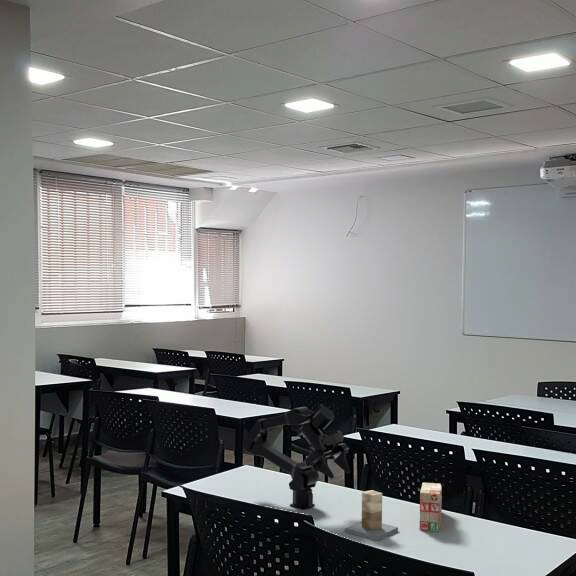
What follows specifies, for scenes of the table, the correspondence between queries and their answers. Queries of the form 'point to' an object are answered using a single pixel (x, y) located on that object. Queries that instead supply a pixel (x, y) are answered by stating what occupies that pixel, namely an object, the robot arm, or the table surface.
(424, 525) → the stack of blocks
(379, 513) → the tower
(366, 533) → the plate
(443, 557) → the table surface
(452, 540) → the table surface
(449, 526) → the table surface
